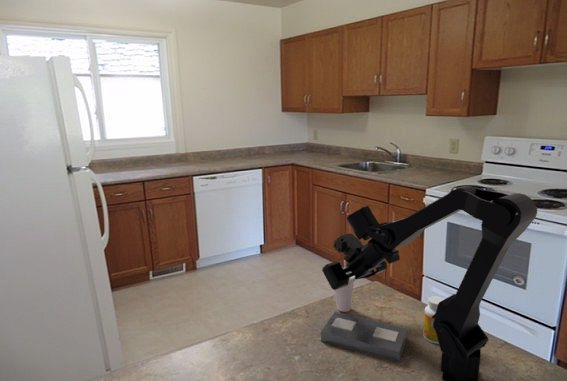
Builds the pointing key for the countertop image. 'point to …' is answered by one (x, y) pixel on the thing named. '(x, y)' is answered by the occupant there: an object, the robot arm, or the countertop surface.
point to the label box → (365, 336)
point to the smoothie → (345, 294)
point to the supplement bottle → (431, 319)
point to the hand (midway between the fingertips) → (339, 281)
